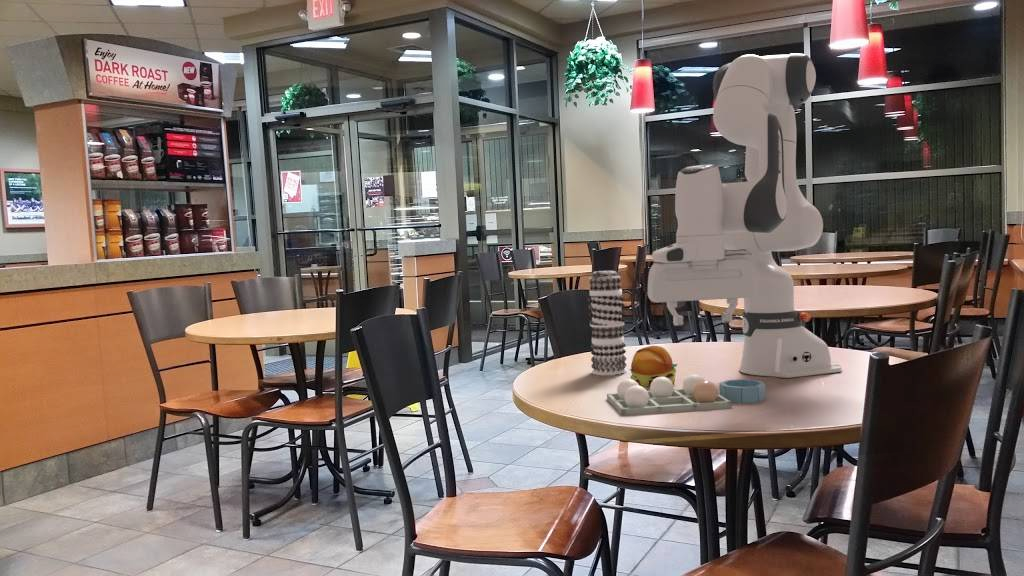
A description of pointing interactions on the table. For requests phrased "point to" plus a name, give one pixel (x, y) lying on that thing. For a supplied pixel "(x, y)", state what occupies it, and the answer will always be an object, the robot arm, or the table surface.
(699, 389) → the brown egg
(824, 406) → the table surface
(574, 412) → the table surface
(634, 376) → the cheeseburger
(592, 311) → the black white tall cylinder
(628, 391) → the egg carton
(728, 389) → the egg cup
